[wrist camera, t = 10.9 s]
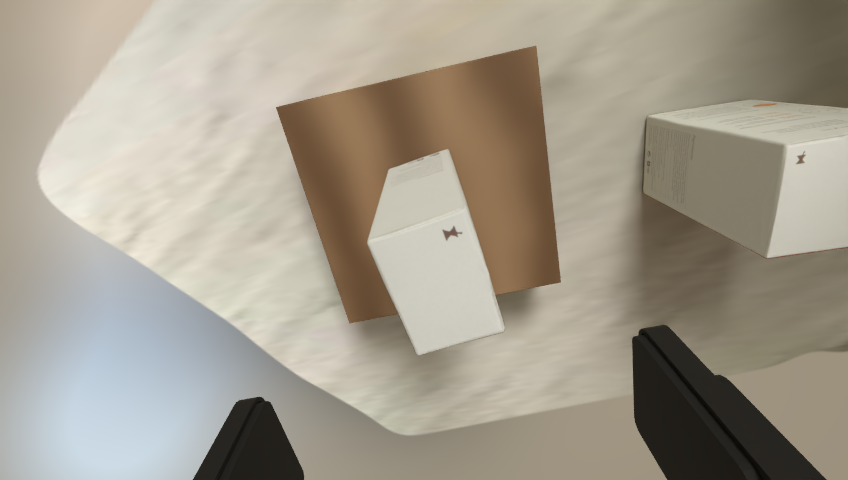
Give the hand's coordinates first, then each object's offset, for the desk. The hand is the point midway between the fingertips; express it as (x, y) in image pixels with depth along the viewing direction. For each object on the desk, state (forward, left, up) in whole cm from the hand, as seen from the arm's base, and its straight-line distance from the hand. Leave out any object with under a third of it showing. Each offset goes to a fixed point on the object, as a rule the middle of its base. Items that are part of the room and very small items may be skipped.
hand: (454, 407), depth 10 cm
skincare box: (0, 0, -19) cm, 19 cm away
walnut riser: (0, 0, -24) cm, 24 cm away
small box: (-21, +2, -25) cm, 32 cm away
